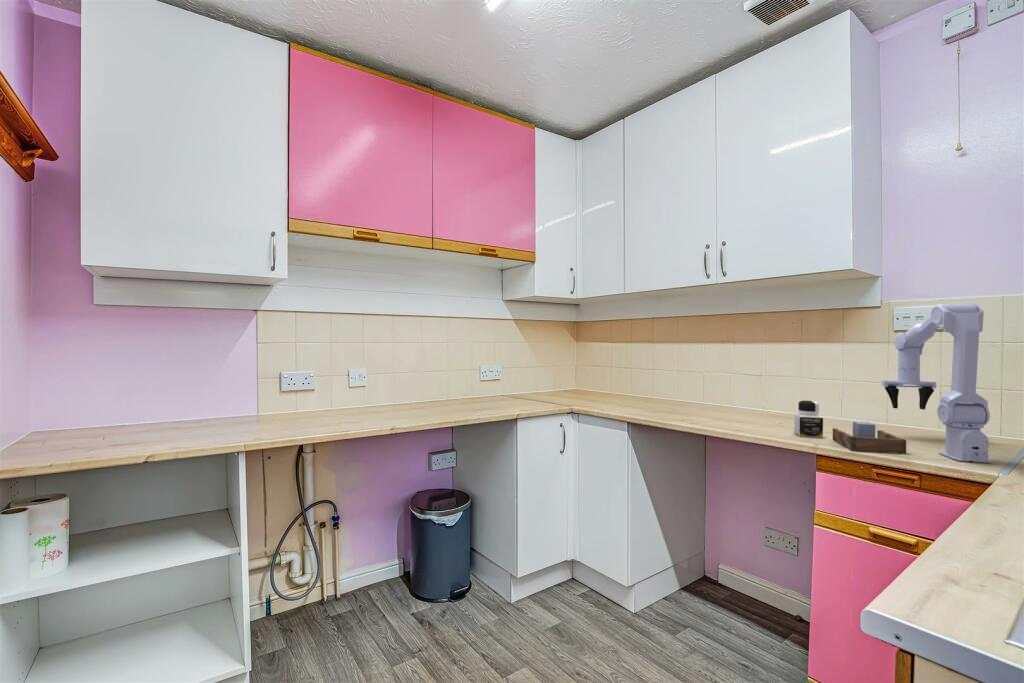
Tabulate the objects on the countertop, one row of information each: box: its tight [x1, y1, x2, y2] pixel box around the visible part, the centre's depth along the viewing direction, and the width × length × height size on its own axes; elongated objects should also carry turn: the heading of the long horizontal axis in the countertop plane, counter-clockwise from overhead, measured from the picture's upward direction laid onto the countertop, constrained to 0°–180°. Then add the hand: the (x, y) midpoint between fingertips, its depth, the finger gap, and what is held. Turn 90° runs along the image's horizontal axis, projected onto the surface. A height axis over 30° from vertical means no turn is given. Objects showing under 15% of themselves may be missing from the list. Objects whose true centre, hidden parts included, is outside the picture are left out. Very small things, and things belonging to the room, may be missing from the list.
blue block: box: [852, 421, 876, 438], centre depth 155 cm, size 4×4×7 cm
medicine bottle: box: [793, 400, 824, 438], centre depth 170 cm, size 7×7×12 cm
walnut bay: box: [832, 427, 907, 454], centre depth 152 cm, size 15×14×4 cm
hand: (908, 408), depth 165 cm, fingers open, 7 cm apart
